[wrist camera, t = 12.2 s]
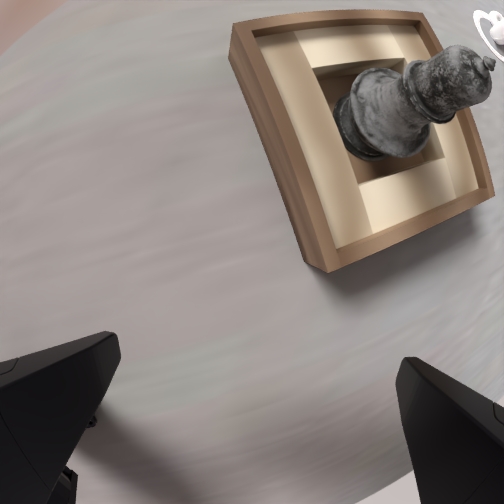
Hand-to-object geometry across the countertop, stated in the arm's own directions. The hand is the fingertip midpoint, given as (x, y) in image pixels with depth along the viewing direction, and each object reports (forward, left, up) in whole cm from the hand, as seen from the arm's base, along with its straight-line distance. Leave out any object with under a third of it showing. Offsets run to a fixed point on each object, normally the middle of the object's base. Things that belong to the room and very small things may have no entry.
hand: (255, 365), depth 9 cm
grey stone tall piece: (+12, +7, -11) cm, 18 cm away
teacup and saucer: (+42, +15, -12) cm, 46 cm away
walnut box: (+12, +7, -11) cm, 18 cm away
